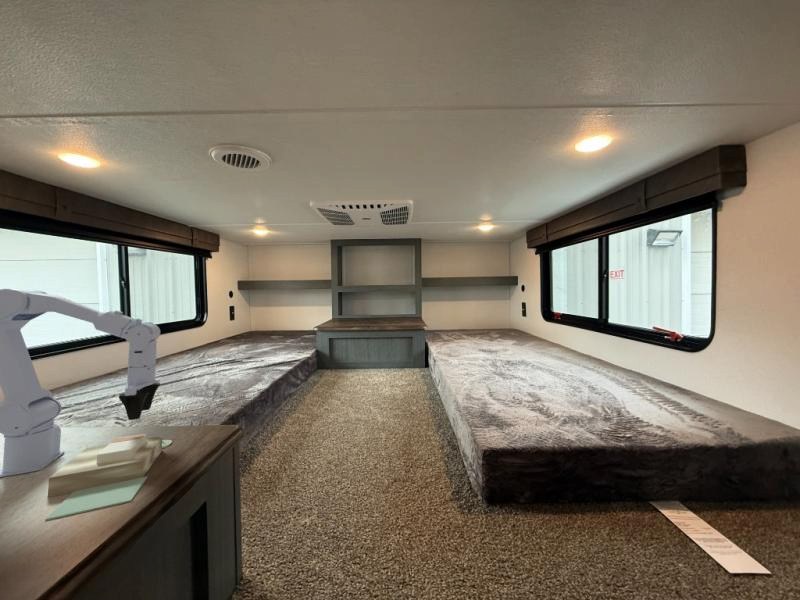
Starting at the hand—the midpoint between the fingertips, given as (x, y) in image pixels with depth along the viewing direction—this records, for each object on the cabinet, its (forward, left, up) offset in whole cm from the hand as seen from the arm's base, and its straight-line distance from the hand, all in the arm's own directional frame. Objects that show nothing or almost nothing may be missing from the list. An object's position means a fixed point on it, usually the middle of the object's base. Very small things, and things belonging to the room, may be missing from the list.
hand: (139, 414), depth 77 cm
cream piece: (+10, -1, -10) cm, 14 cm away
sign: (-3, +9, -11) cm, 14 cm away
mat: (+22, +1, -10) cm, 24 cm away
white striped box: (+10, 0, -6) cm, 11 cm away
